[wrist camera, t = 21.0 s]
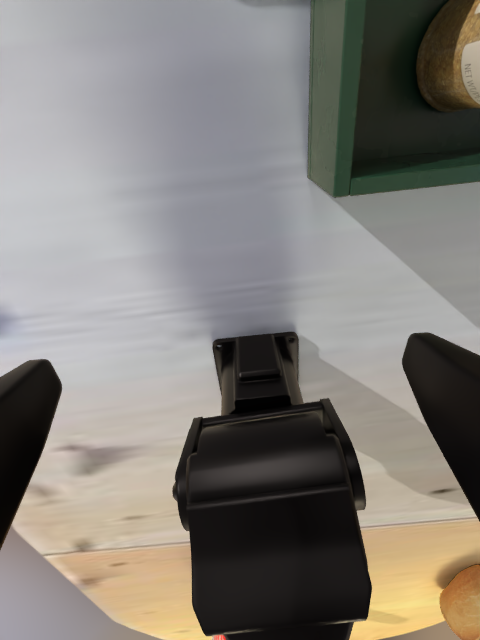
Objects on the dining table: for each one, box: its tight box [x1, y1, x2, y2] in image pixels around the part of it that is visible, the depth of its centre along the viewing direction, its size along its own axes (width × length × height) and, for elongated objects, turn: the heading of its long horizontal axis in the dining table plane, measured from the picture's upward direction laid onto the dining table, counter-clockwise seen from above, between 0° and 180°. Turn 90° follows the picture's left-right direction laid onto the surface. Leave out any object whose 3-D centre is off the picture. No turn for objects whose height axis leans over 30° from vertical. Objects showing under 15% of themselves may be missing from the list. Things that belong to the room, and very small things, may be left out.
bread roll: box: [440, 565, 480, 640], centre depth 51 cm, size 10×15×8 cm, turn 3°
